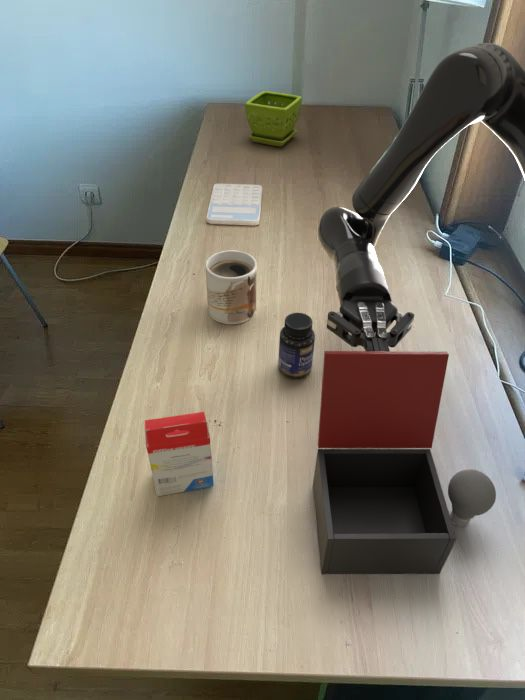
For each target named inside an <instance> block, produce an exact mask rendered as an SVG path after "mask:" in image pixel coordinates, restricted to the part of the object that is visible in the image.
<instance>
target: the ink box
mask: <svg viewBox="0 0 525 700" xmlns="http://www.w3.org/2000/svg"><path fill="white" fill-rule="evenodd" d="M144 434H145V435H144V436H145V437H144V438H145V448H146V452H147V455H148V456H147V457H148V461H149V466H150V470H151V476H152V480H153V485H154V491H155V494H156V496H157V497H161V496H168V495H173V494H179V493H185V492H191V491H196V490H202V489H207V488H208V489H209V488H213V487H214V486H215V484H214V473H213V472H214V471H213V459H212V447H211V446H212V444H211V436H210V431H209V426H208V421H207V417H206V413H205V411H199V412H192V413H187V414H179V415H172V416H166V417H165V416H164V417H159V418H151V419H145V420H144Z"/></svg>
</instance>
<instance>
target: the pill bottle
mask: <svg viewBox="0 0 525 700" xmlns="http://www.w3.org/2000/svg"><path fill="white" fill-rule="evenodd" d="M315 341H316V333H315V330H314V329H313V319H312V317H311V316H309V315H308V314H306V313H303V312H291V313H290V314H287V315H286V317H285V318H284V326H283V327H282V328H281V330H280V332H279V344H278V361H277V368H278V370H279V372H280V373H281V375H283V376H284V377H286V378H288V379H293V380H298V379H299V380H300V379H304V378H305V377H307V376H308V375H310V374H311V372H312V369H313V360H314V350H315Z"/></svg>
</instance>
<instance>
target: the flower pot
mask: <svg viewBox="0 0 525 700" xmlns="http://www.w3.org/2000/svg"><path fill="white" fill-rule="evenodd" d="M302 100H303V98H302V96H300V95H295V94H290V93H283V92H275V91H268V90H263V91H260V92H259V93H257V94H256V95H254V96H252V97H251V98H250V99H248V101H246V102H245V103H244V105H245V106H244V107H245V115H246V120H247V123H248V126H249V128H250V130H251V133H250V134H249V136H248V138H249V139H250V140H251V141H252V142H253V143H258V144H263V145H268V146H273V147H279V148H280V147H283V146H284V145H285V144H286V143H288V142H289V141H290V140H291V139H292V138H293V137H294V136H295V135H296V134H297V132H298V130H297V129H295V126H296V124H297V122H298V118H299V116H300V112H301V107H302Z"/></svg>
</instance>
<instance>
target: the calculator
mask: <svg viewBox="0 0 525 700" xmlns="http://www.w3.org/2000/svg"><path fill="white" fill-rule="evenodd" d="M262 198H263V186H262V185H260V184H246V183H214V184H213V187H212V191H211V195H210V200H209V204H208V209H207V213H206V218H205V219H206V223H207V224H209V225H228V226H229V225H230V226H258V225H259V224H260V221H261V210H262V200H263V199H262Z"/></svg>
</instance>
